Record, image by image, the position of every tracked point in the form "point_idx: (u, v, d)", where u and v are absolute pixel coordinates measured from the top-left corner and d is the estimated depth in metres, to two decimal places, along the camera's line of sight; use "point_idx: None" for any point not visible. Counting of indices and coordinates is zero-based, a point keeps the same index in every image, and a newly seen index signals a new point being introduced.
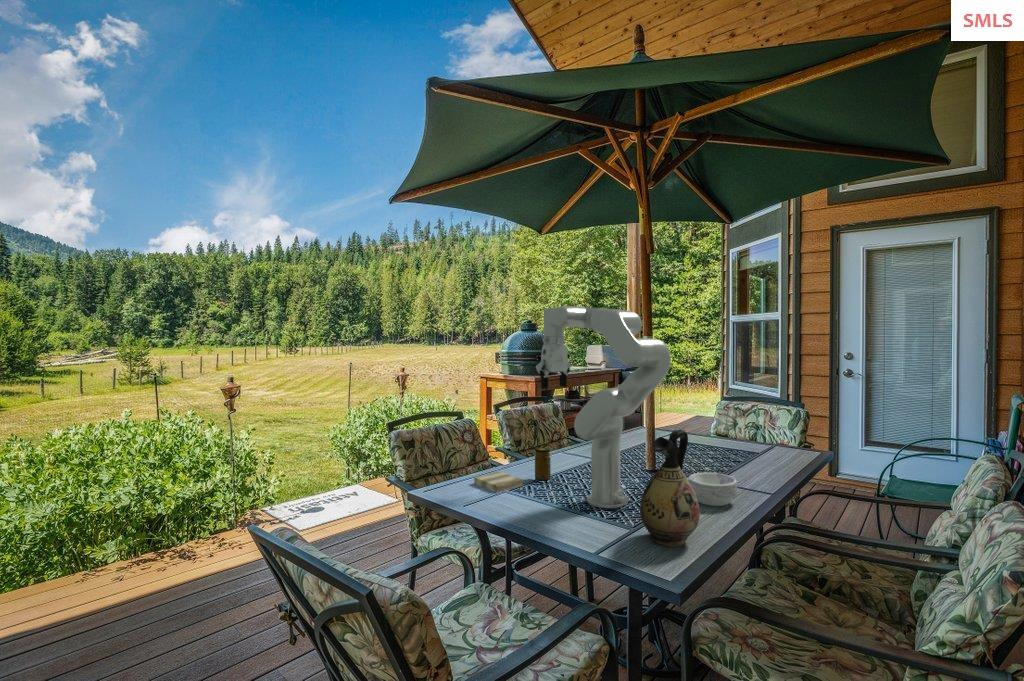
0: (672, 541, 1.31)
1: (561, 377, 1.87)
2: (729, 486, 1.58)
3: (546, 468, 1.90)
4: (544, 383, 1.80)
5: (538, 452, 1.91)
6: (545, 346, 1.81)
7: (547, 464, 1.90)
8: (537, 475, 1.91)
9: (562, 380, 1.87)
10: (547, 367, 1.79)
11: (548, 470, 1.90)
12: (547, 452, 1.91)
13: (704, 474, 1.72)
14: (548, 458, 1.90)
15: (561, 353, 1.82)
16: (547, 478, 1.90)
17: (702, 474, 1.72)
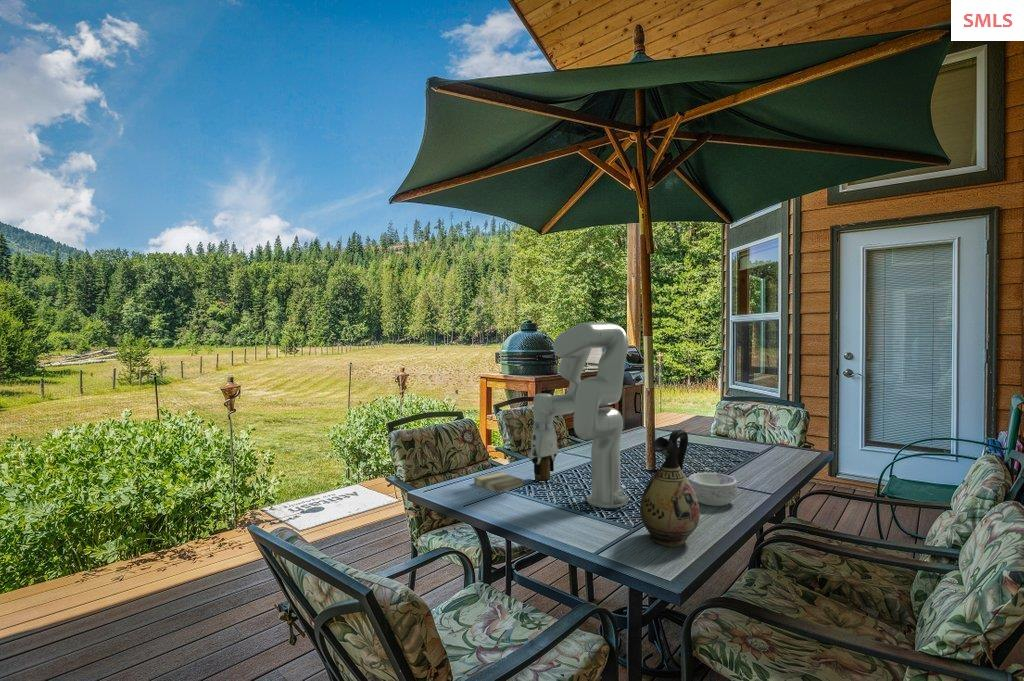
0: (672, 541, 1.31)
1: None
2: (729, 486, 1.58)
3: (546, 468, 1.90)
4: (537, 469, 1.89)
5: None
6: (535, 432, 1.88)
7: (547, 464, 1.90)
8: (537, 475, 1.90)
9: None
10: (537, 453, 1.87)
11: (548, 470, 1.90)
12: None
13: (704, 474, 1.72)
14: (548, 458, 1.90)
15: (550, 438, 1.90)
16: (547, 478, 1.90)
17: (702, 474, 1.72)
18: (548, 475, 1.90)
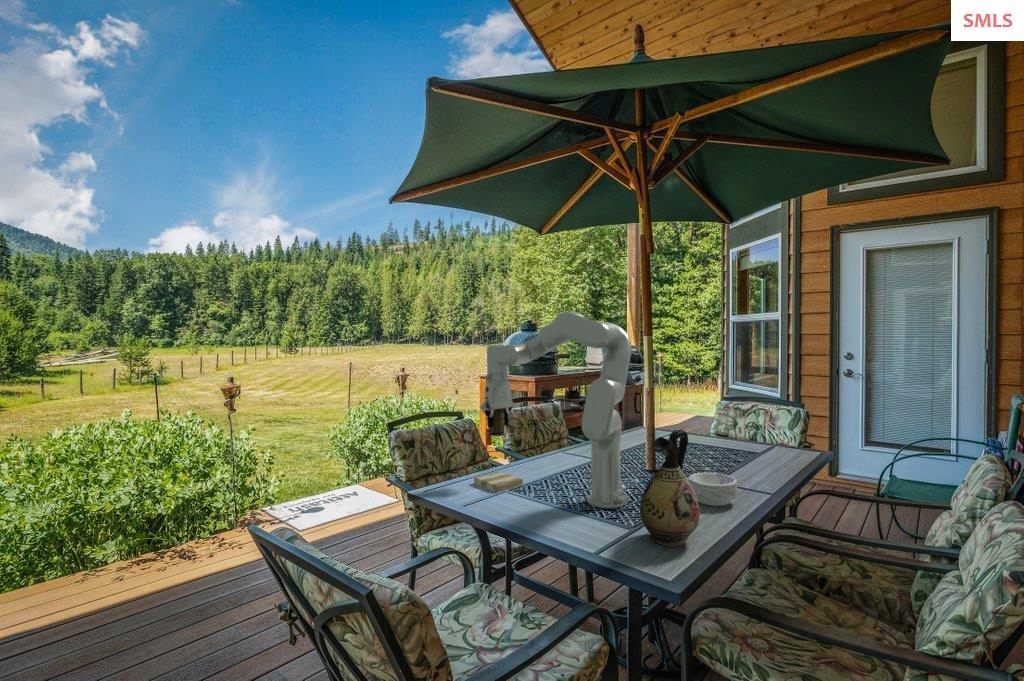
0: (672, 541, 1.31)
1: None
2: (729, 486, 1.58)
3: (499, 421, 1.84)
4: (490, 422, 1.83)
5: None
6: (488, 383, 1.83)
7: (501, 417, 1.84)
8: (490, 428, 1.85)
9: (504, 419, 1.88)
10: (489, 404, 1.81)
11: (501, 423, 1.85)
12: None
13: (704, 474, 1.72)
14: (501, 411, 1.85)
15: (504, 390, 1.84)
16: (500, 431, 1.84)
17: (702, 474, 1.72)
18: (502, 428, 1.85)
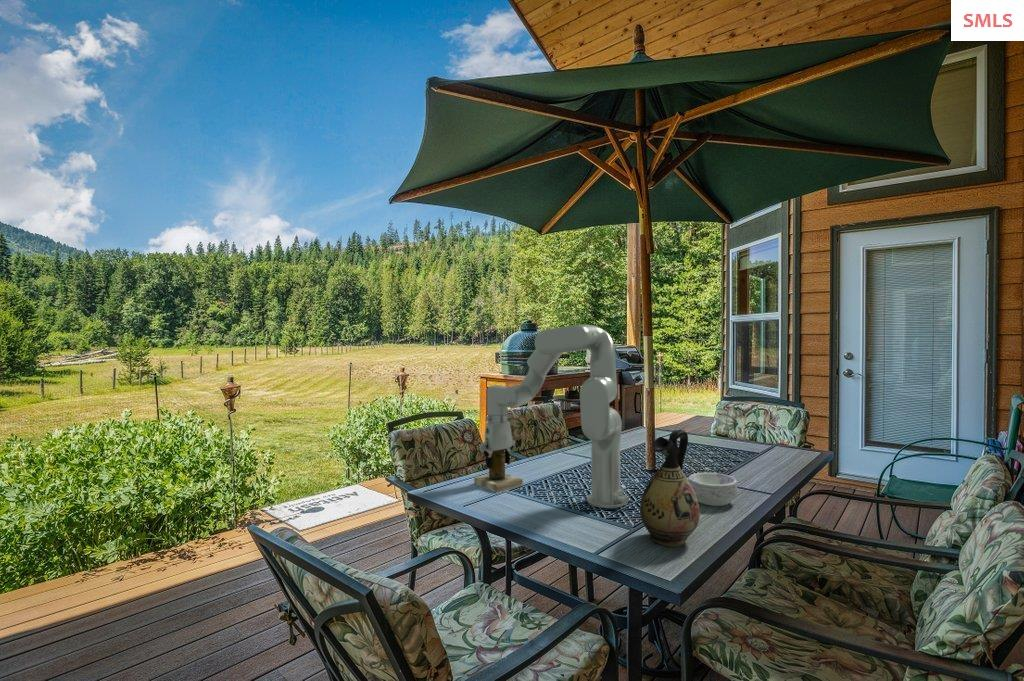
0: (672, 541, 1.31)
1: None
2: (729, 486, 1.58)
3: (500, 466, 1.84)
4: (488, 463, 1.82)
5: None
6: (488, 425, 1.83)
7: (501, 461, 1.84)
8: (491, 473, 1.85)
9: (505, 457, 1.89)
10: (490, 446, 1.81)
11: (502, 468, 1.85)
12: None
13: (704, 474, 1.72)
14: (502, 455, 1.85)
15: (504, 431, 1.85)
16: (501, 476, 1.84)
17: (702, 474, 1.72)
18: (502, 473, 1.85)
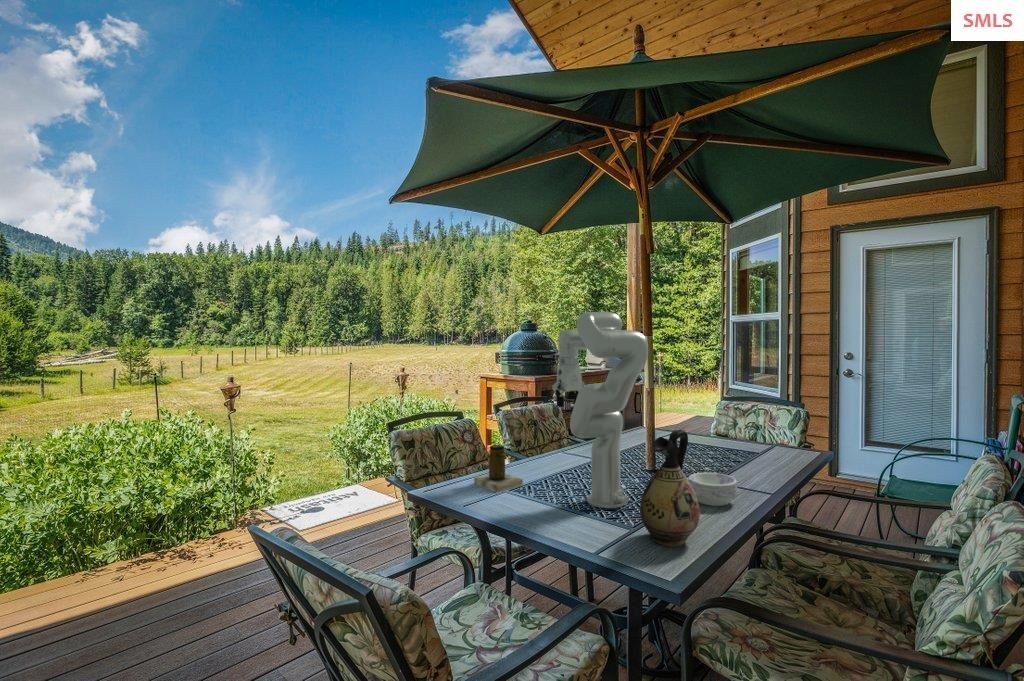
0: (672, 541, 1.31)
1: (575, 395, 1.98)
2: (729, 486, 1.58)
3: (500, 466, 1.84)
4: (560, 402, 1.91)
5: (492, 449, 1.85)
6: (561, 367, 1.91)
7: (501, 461, 1.84)
8: (491, 473, 1.85)
9: (576, 398, 1.98)
10: (563, 387, 1.90)
11: (502, 468, 1.85)
12: (501, 449, 1.85)
13: (704, 474, 1.72)
14: (502, 455, 1.85)
15: (576, 373, 1.93)
16: (501, 476, 1.84)
17: (702, 474, 1.72)
18: (502, 473, 1.85)
